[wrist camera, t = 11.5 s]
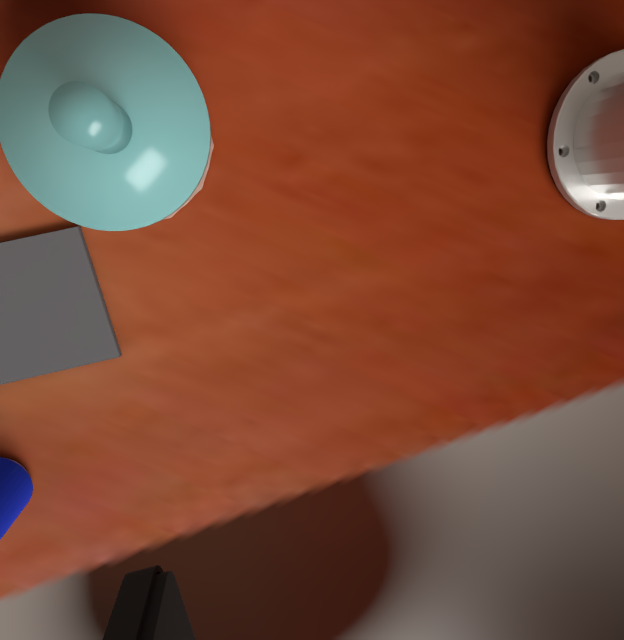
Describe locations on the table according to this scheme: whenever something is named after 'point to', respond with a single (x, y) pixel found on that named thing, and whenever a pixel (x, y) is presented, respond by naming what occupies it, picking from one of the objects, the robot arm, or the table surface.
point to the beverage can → (12, 492)
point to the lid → (103, 122)
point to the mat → (51, 307)
